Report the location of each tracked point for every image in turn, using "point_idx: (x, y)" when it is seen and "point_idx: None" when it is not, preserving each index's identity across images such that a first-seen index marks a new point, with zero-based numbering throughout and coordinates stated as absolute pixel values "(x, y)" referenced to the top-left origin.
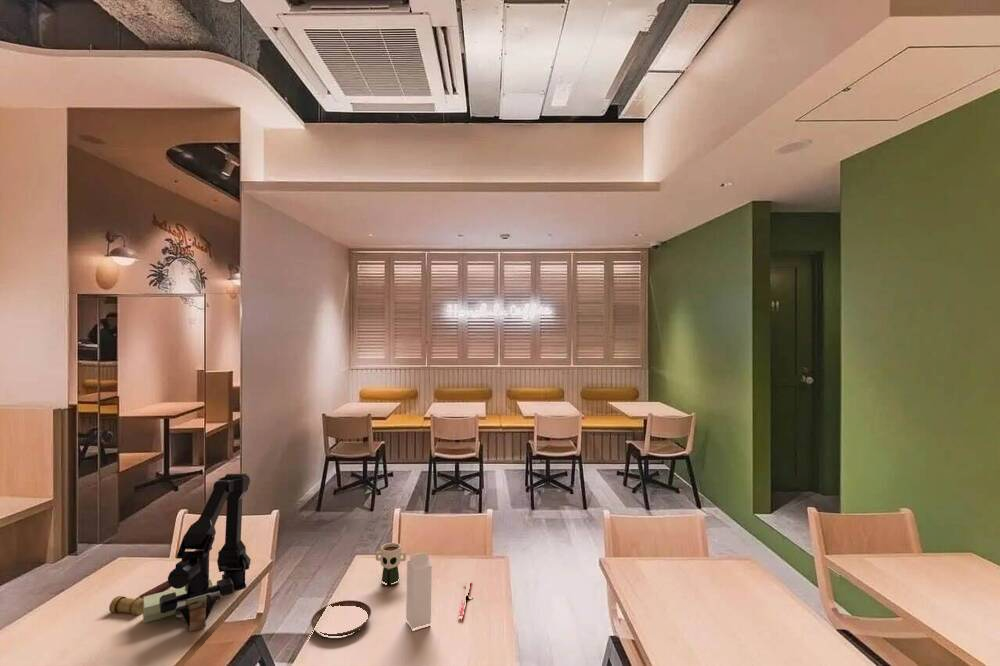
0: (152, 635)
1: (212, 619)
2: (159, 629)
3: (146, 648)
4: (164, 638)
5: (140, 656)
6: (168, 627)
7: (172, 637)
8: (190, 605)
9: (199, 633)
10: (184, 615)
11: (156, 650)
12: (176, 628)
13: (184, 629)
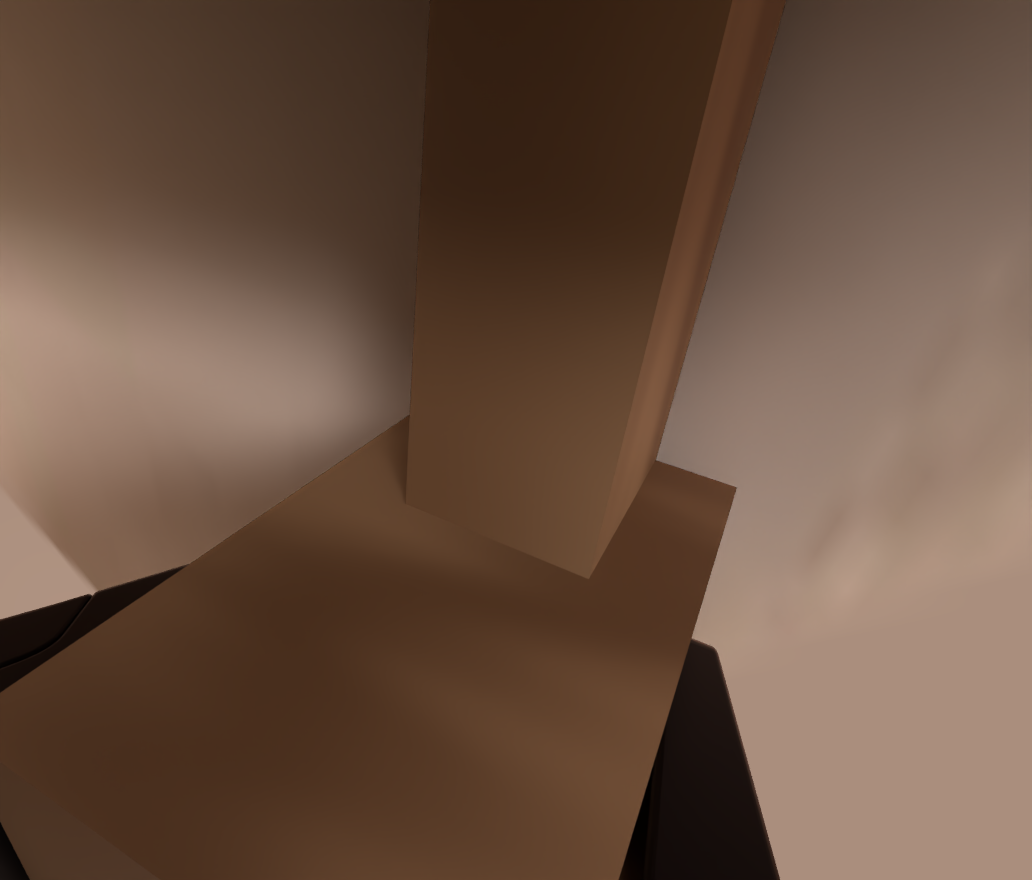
0: (32, 183)
1: (943, 529)
2: (70, 46)
3: (57, 447)
4: (175, 410)
5: (50, 532)
6: (181, 95)
7: (254, 475)
8: (2, 783)
9: None
10: None
11: (144, 568)
12: (292, 260)
13: (394, 411)
